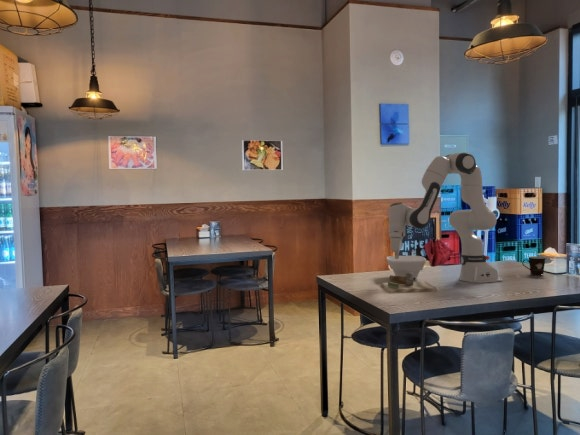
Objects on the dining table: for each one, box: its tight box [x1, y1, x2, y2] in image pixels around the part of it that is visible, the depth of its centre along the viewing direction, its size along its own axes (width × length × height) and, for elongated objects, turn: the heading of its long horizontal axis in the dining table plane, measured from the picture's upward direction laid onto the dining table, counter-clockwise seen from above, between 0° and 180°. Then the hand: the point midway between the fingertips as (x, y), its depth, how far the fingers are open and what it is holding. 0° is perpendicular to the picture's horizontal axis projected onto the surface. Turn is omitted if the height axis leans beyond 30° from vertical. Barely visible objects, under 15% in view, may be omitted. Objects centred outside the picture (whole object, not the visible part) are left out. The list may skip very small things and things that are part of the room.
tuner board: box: [380, 281, 438, 294], centre depth 243 cm, size 24×18×4 cm
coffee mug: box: [522, 256, 546, 276], centre depth 273 cm, size 12×9×10 cm
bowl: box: [386, 255, 427, 279], centre depth 272 cm, size 22×22×12 cm
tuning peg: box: [389, 272, 414, 285], centre depth 245 cm, size 12×4×6 cm, turn 72°
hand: (397, 258), depth 251 cm, fingers closed
